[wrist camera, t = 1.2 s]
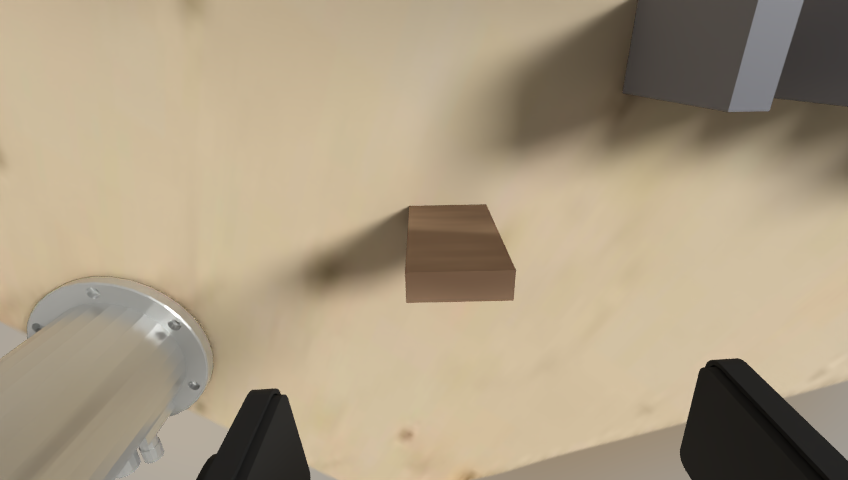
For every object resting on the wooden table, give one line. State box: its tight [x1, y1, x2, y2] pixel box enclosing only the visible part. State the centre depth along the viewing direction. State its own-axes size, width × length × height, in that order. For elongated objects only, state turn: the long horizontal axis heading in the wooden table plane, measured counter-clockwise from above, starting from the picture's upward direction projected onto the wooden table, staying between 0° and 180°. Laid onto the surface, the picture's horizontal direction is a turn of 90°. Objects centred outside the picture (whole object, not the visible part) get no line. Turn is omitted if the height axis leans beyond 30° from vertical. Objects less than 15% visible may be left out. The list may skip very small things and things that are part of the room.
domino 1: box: [405, 204, 516, 303], centre depth 23 cm, size 2×5×9 cm, turn 91°
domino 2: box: [623, 0, 804, 112], centre depth 19 cm, size 2×5×9 cm, turn 1°
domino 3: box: [774, 0, 848, 107], centre depth 19 cm, size 2×5×9 cm, turn 1°
